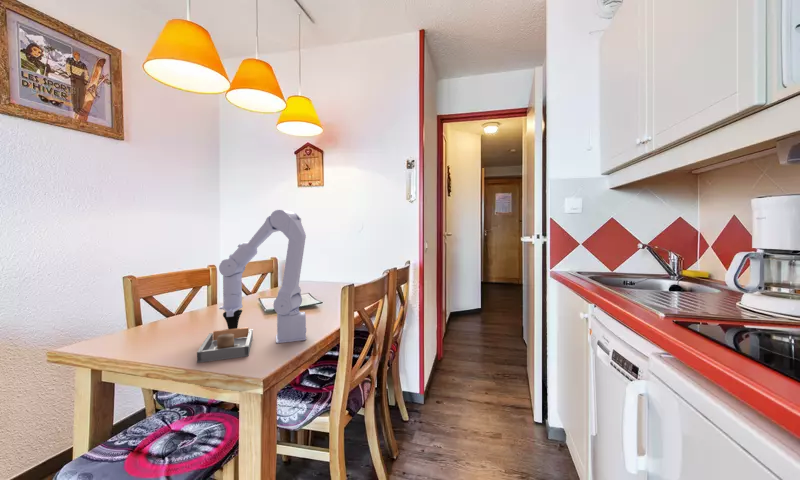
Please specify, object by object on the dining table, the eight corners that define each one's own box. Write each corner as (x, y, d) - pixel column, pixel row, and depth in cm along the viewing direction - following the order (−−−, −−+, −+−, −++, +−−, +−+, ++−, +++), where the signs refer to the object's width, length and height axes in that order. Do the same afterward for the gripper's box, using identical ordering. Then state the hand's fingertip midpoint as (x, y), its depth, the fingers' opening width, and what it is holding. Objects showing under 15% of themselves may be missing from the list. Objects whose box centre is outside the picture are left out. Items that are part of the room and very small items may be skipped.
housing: (252, 337, 108) (252, 329, 108) (248, 356, 92) (248, 346, 92) (209, 342, 103) (209, 333, 103) (197, 362, 87) (197, 352, 87)
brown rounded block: (234, 348, 96) (234, 332, 96) (233, 354, 92) (233, 337, 92) (218, 350, 95) (218, 334, 95) (216, 356, 91) (215, 339, 90)
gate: (248, 335, 107) (248, 327, 107) (248, 336, 106) (248, 328, 106) (213, 339, 103) (213, 330, 103) (213, 340, 103) (213, 331, 102)
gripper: (222, 290, 114) (223, 327, 114) (215, 298, 100) (216, 340, 101) (244, 289, 116) (244, 325, 117) (240, 296, 103) (240, 337, 103)
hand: (233, 332), depth 109 cm, fingers closed
